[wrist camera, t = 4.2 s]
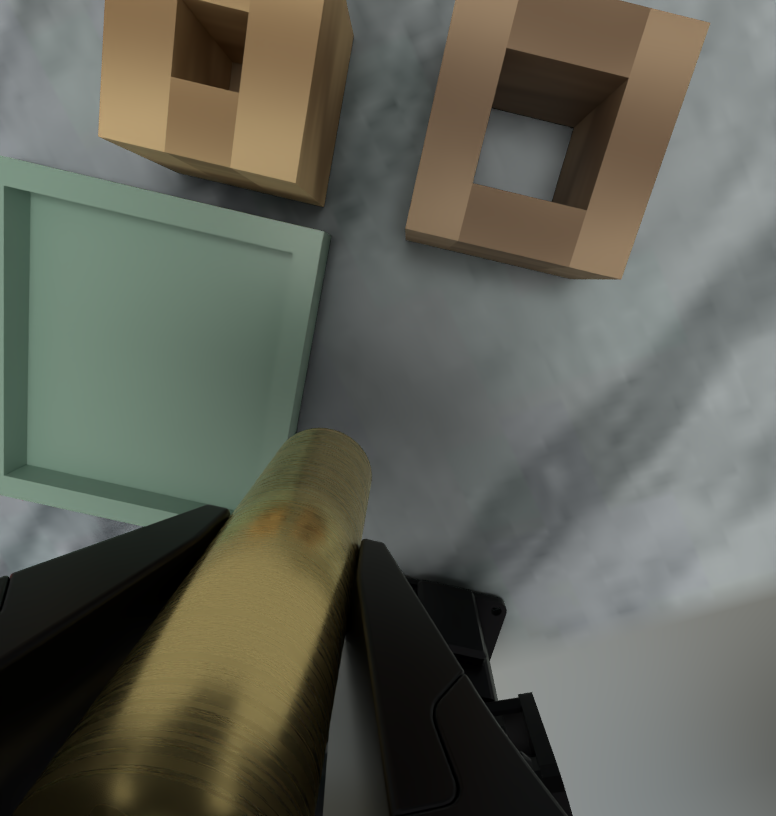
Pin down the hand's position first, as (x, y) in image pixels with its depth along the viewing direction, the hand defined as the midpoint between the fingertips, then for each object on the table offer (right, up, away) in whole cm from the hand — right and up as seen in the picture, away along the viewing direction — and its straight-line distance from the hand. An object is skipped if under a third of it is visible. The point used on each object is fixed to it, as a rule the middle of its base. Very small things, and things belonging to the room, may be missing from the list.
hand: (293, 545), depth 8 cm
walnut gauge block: (+7, +12, +10) cm, 17 cm away
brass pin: (0, +1, +3) cm, 3 cm away
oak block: (-3, +14, +10) cm, 17 cm away
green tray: (-8, +4, +12) cm, 16 cm away
